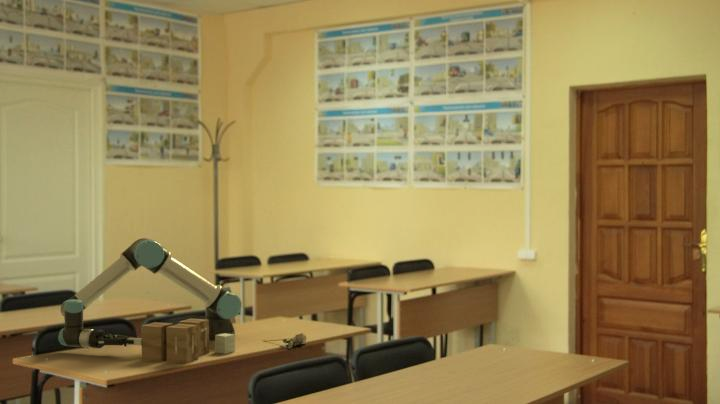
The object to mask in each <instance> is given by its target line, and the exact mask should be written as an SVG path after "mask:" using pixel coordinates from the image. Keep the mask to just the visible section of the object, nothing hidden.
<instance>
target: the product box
mask: <svg viewBox="0 0 720 404" xmlns="http://www.w3.org/2000/svg"><path fill="white" fill-rule="evenodd" d="M214 352H215V353H219V354H223V355H224V354H229V353H233V352H236V334H235V335H234V334H226V333H224V334H219V335H215V339H214Z"/></svg>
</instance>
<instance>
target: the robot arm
mask: <svg viewBox="0 0 720 404" xmlns="http://www.w3.org/2000/svg"><path fill="white" fill-rule="evenodd" d="M119 255H120V256H119V258H118V259H116V260H115V261H114V262H113V263H112V264H111V265H109V266H108V267H107V268H106V269H104V271H101V273H100V274H99V275H97V276H96V277H95V278H93V279H92V280H91V281H90V282H89V283H87V284H86V285H84V287H83V288H81V289H80V290H79V291H77V292H76V294H74V295H73V296H71V297H70V298H69V299H67V300H65V301H63V302H62V304H61V305H60V314H61V315H62V316H63V317H64V327H63V328H61V329H60V330H59V333H58V337H57V339H58V342H59V343H60V345H62V346H67V347H76V348H86V349H87V350H88V349H89V348H90V349H91V348H93V349H102V348H103V347H104V346H124V347H127V346H141V347H142V337H132V336H131V335H121V334H118V333H117V334H109V333H107V334H106V332H105V331H104V330H102V329H93V328H92V329H91V328H84V310H86V308H88V307H89V306H90V305H91V304H93V303H94V302H95V301H97V300H98V299H99V298H100V297H101V296H102V295H104V294H105V293H106V292H107V291H108V290H110V289H111V288H112V287H113V286H115V285H116V284H117V283H118V282H120V280H122V279H123V278H125V276H127V275H128V274H129V273H130V272H135V271H137V269H140V267H143V268H145V269H146V270H148V271H149V272H151V273H153V274H154V275H156V274H160V275H162V276H164V277H166V278H167V279H168V280H170V281H171V282H173V283H174V284H176V285H177V286H179V287H180V288H182V289H183V290H185V291H187V292H188V293H190V294H191V295H192V296H194V297H196V298H197V299H199V300H200V301H202V302H203V303H204V308H205V319H207V320H209V340H215V335H219V334H224V333H226V334H234V335H235V336H236V332H235V327H234V323H233V324H232V321H231V319H232V318H234V317H235V318H236V317H238V315H239V314H240V312H241V310H242V306H243V305H242V300H241V298H240V296H239V295H238V294H236V293H234V292H232V289H231V286H223V285H221V284H216V285H215V284H213V283H212V282H210V281H208V280H207V279H206V278H204V277H203V276H201V275H199V274H198V273H197V272H195V271H193V270H192V269H191V268H189V267H188V266H186V265H185V264H183V263H182V262H180V261H179V260H177V259H176V258H174V257H172V254H171V251H170V250H168V249H167V248H165V247H164V246H162V245H161V244H160V242H158V241H156V240H154V239H149V238H146V237H145V238H138V239H137V240H135V241H134V242H133V243H131V244H130V245H129V246H128V247H127V248H126V249H125V250H124V251H122V252H121V253H120V254H119Z"/></svg>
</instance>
